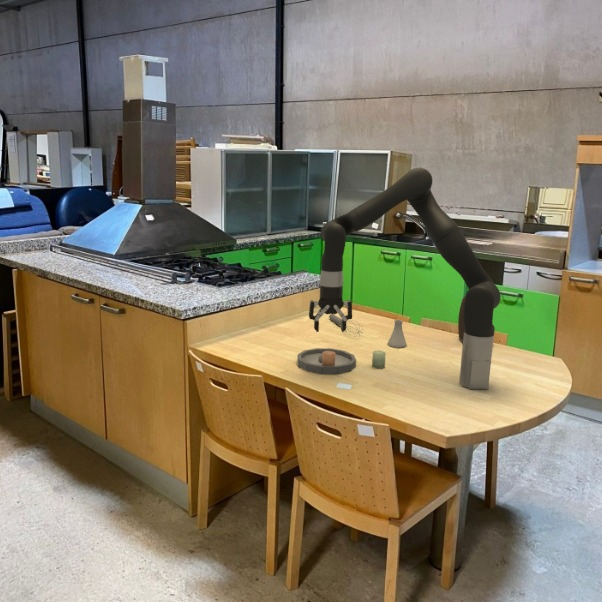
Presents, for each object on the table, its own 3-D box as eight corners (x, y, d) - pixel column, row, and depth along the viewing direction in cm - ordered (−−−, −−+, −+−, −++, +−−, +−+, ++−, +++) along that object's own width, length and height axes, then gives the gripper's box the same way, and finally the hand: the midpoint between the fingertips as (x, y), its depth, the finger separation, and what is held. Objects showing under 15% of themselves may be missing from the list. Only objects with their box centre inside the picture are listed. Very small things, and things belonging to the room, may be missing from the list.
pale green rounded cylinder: (385, 368, 210) (386, 354, 208) (373, 368, 209) (374, 354, 208) (383, 364, 214) (384, 350, 213) (370, 364, 213) (371, 350, 212)
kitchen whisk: (335, 318, 274) (336, 304, 272) (365, 340, 243) (366, 325, 241) (323, 318, 272) (323, 305, 271) (351, 341, 241) (352, 325, 239)
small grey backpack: (454, 337, 249) (459, 289, 244) (474, 337, 250) (479, 289, 245) (468, 348, 234) (473, 298, 229) (489, 348, 235) (494, 298, 230)
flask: (383, 344, 236) (385, 319, 234) (396, 341, 241) (398, 317, 238) (397, 349, 231) (399, 324, 228) (410, 346, 235) (412, 321, 233)
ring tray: (359, 374, 203) (359, 367, 203) (299, 373, 202) (299, 366, 201) (350, 355, 223) (350, 348, 222) (295, 354, 221) (296, 348, 220)
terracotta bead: (337, 367, 206) (338, 353, 204) (326, 369, 203) (327, 355, 202) (330, 364, 209) (330, 350, 208) (319, 365, 207) (319, 351, 206)
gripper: (351, 281, 203) (349, 328, 207) (308, 281, 202) (307, 328, 206) (354, 286, 196) (352, 334, 200) (310, 286, 195) (309, 334, 199)
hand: (329, 331), depth 203 cm, fingers open, 8 cm apart
